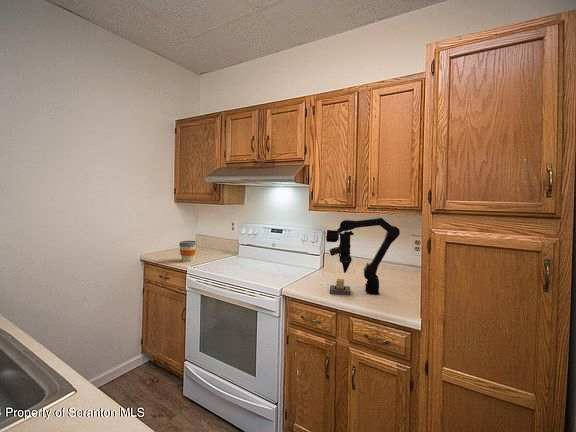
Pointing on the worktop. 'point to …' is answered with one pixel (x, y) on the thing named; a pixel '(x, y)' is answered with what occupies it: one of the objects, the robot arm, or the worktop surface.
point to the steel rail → (340, 292)
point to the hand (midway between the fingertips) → (344, 270)
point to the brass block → (340, 284)
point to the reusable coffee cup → (187, 250)
